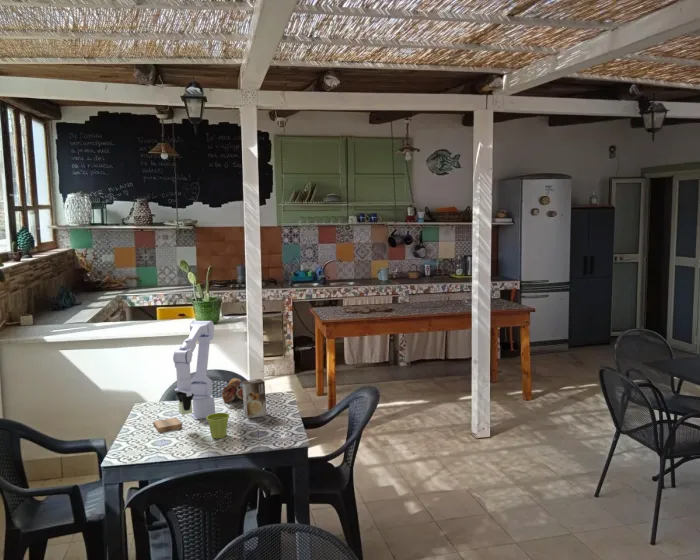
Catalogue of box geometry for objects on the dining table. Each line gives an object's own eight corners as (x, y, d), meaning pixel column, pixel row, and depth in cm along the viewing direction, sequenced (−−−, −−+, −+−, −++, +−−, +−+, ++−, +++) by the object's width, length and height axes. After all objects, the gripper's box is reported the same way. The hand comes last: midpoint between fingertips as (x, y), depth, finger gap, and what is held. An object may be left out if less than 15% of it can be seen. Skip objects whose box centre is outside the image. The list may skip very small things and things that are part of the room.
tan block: (176, 422, 275) (176, 417, 275) (182, 429, 267) (181, 423, 266) (153, 427, 270) (153, 421, 270) (158, 433, 262) (158, 428, 262)
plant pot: (210, 442, 249) (209, 421, 248) (204, 435, 258) (203, 415, 257) (233, 437, 254) (232, 417, 253) (226, 431, 262) (225, 411, 261)
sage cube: (189, 410, 267) (188, 400, 266) (192, 413, 263) (191, 403, 263) (179, 412, 264) (178, 402, 264) (181, 414, 261) (181, 404, 260)
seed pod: (210, 393, 295) (239, 383, 295) (214, 377, 310) (241, 368, 310) (220, 415, 300) (249, 405, 299) (224, 399, 315) (251, 389, 314)
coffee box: (262, 411, 287) (261, 378, 285) (266, 415, 281) (265, 381, 279) (243, 414, 283) (242, 380, 281) (247, 418, 277) (245, 384, 275)
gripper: (169, 375, 266) (171, 405, 268) (179, 383, 254) (180, 414, 255) (185, 373, 270) (187, 403, 271) (195, 380, 258) (197, 411, 259)
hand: (185, 408), depth 264 cm, fingers closed on sage cube, 4 cm apart
